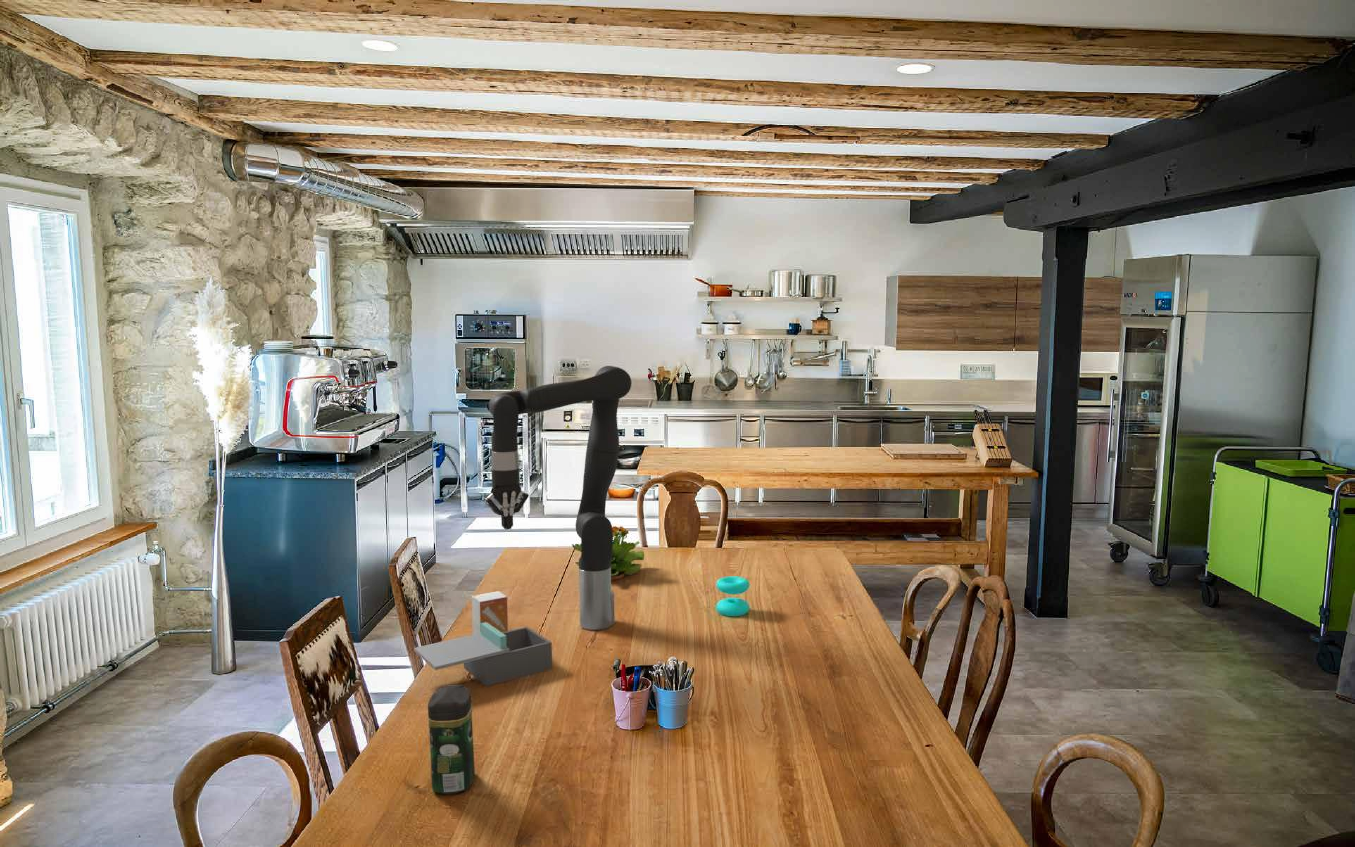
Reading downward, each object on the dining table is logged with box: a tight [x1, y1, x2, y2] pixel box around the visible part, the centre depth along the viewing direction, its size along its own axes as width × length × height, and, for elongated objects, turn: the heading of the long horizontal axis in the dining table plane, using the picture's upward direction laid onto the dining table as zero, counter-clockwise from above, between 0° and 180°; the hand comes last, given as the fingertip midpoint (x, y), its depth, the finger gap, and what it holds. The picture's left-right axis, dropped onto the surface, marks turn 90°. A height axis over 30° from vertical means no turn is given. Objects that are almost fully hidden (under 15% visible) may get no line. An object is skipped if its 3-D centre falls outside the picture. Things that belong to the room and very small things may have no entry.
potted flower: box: [571, 525, 645, 581], centre depth 300 cm, size 25×24×18 cm
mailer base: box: [463, 626, 553, 687], centre depth 224 cm, size 18×14×7 cm
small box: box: [471, 590, 509, 635], centre depth 242 cm, size 8×6×13 cm
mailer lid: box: [413, 622, 510, 671], centre depth 216 cm, size 19×15×4 cm
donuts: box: [715, 575, 751, 617], centre depth 265 cm, size 10×10×10 cm
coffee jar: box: [427, 684, 476, 795], centre depth 168 cm, size 10×8×19 cm
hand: (507, 528), depth 242 cm, fingers closed
